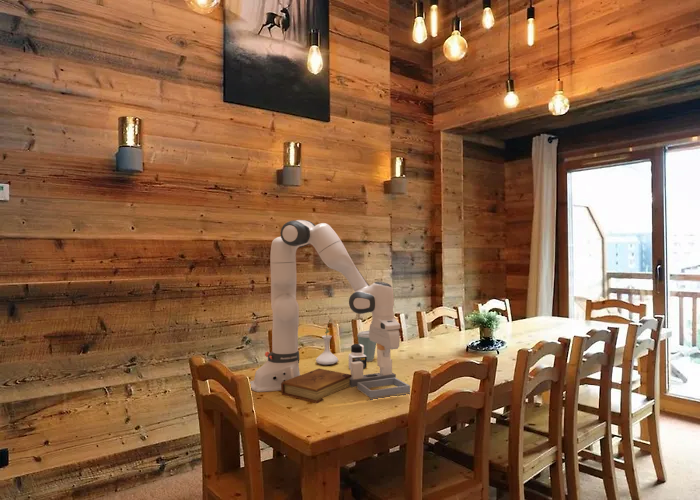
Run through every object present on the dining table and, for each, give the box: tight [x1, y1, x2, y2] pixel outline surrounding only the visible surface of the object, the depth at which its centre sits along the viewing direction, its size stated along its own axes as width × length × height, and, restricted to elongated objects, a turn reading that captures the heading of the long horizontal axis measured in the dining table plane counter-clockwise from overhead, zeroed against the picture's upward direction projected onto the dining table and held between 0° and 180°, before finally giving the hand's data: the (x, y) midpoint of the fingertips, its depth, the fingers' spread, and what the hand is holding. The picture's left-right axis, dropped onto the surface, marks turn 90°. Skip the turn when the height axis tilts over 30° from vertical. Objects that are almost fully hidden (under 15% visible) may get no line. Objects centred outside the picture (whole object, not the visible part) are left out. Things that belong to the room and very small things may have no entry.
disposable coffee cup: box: [356, 330, 377, 362], centre depth 251 cm, size 11×11×15 cm
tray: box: [356, 377, 411, 401], centre depth 198 cm, size 18×13×4 cm
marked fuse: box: [376, 343, 392, 368], centre depth 198 cm, size 4×3×9 cm, turn 114°
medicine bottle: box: [348, 343, 368, 371], centre depth 234 cm, size 7×7×12 cm
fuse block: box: [349, 372, 397, 388], centre depth 211 cm, size 22×7×4 cm, turn 113°
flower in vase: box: [315, 313, 339, 366], centre depth 245 cm, size 13×11×25 cm
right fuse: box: [379, 358, 393, 375], centre depth 213 cm, size 4×3×9 cm, turn 113°
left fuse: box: [350, 361, 364, 379], centre depth 208 cm, size 4×3×9 cm, turn 112°
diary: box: [280, 368, 352, 404], centre depth 201 cm, size 23×19×6 cm
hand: (383, 355), depth 198 cm, fingers closed on marked fuse, 3 cm apart
